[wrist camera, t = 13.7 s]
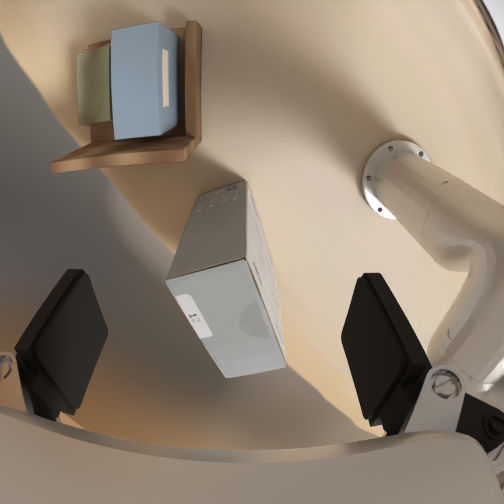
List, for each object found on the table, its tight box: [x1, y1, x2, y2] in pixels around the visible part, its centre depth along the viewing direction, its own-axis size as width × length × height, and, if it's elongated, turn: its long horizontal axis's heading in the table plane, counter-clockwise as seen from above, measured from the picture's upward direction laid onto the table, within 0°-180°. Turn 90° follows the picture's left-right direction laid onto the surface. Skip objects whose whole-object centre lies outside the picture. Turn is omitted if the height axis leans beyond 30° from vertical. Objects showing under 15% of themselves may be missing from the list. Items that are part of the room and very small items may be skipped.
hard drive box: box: [165, 181, 287, 378], centre depth 36 cm, size 16×8×20 cm, turn 17°
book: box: [111, 22, 181, 140], centre depth 28 cm, size 5×12×10 cm, turn 179°
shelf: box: [50, 21, 202, 173], centre depth 28 cm, size 16×16×12 cm
